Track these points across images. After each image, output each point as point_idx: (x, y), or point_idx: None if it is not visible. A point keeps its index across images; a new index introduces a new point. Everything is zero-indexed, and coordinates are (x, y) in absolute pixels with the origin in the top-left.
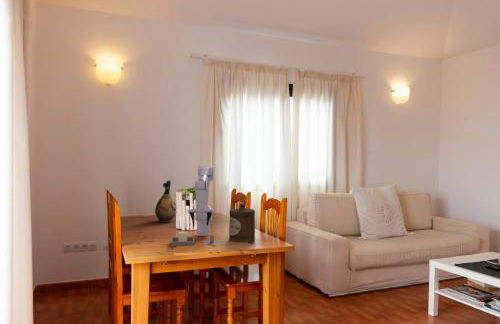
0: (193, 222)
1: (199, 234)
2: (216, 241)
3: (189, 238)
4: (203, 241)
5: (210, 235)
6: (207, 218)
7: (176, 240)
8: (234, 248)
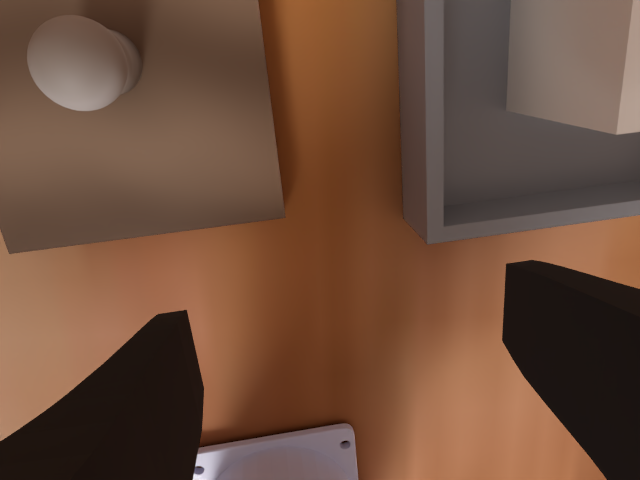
0: (595, 282)
1: (331, 477)
2: (37, 124)
3: (475, 214)
4: (258, 124)
5: (102, 57)
6: (106, 427)
7: (635, 184)
8: None
